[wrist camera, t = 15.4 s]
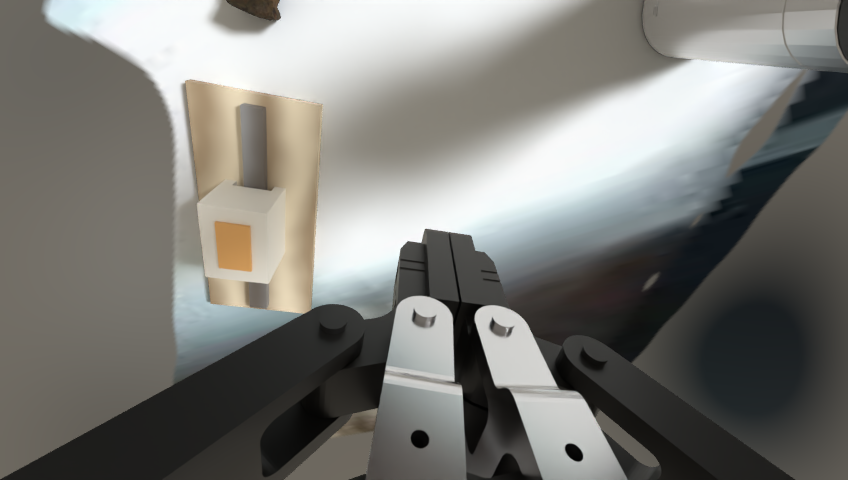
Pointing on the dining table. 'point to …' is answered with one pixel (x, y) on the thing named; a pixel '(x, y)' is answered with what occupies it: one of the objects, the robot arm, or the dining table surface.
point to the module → (242, 232)
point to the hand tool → (258, 8)
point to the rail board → (262, 179)
